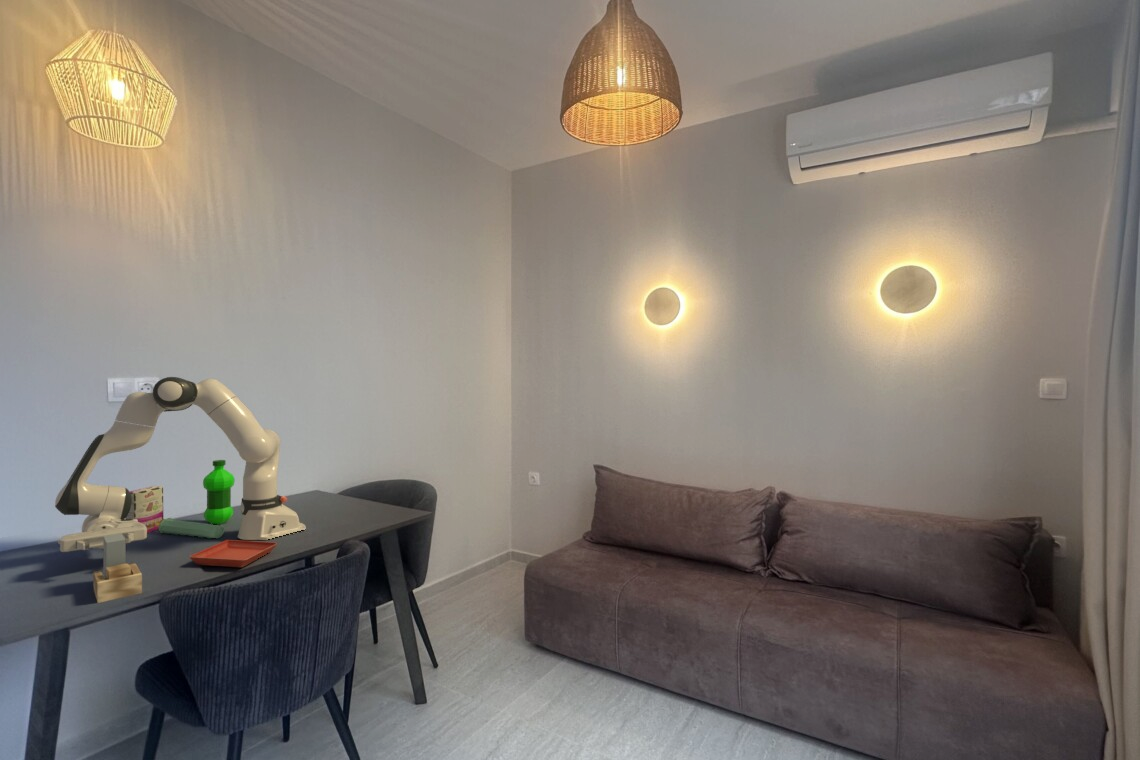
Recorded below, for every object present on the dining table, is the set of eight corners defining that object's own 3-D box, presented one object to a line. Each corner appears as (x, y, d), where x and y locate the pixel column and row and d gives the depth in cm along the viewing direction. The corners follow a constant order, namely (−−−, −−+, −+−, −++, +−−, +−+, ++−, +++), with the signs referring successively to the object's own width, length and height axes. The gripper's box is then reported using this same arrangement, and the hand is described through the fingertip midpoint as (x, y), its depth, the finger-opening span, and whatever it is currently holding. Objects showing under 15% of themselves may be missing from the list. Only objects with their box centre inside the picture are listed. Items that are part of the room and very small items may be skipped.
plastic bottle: (214, 518, 219) (215, 458, 218) (239, 519, 218) (240, 459, 218) (196, 525, 209) (197, 462, 208) (222, 526, 208) (223, 463, 208)
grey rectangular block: (121, 581, 154) (121, 533, 154) (125, 589, 149) (125, 539, 148) (103, 585, 151) (103, 536, 151) (106, 593, 146) (106, 542, 146)
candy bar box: (153, 527, 206) (153, 485, 205) (164, 528, 205) (164, 486, 204) (123, 536, 195) (124, 491, 194) (135, 537, 194) (135, 492, 193)
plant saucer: (278, 551, 181) (278, 541, 181) (244, 570, 163) (244, 559, 163) (226, 549, 182) (226, 539, 182) (187, 567, 164) (187, 556, 164)
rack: (135, 584, 152) (135, 563, 152) (141, 596, 144) (141, 574, 144) (93, 593, 146) (93, 571, 146) (97, 606, 138) (97, 583, 138)
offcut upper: (127, 574, 147) (127, 563, 147) (130, 577, 144) (130, 566, 144) (105, 578, 143) (105, 567, 143) (109, 582, 141) (109, 571, 141)
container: (224, 520, 196) (170, 514, 202) (211, 531, 190) (155, 524, 196) (229, 533, 198) (175, 527, 204) (216, 544, 193) (161, 537, 199)
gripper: (57, 529, 161) (59, 540, 152) (143, 517, 176) (150, 526, 166) (57, 550, 161) (59, 562, 152) (142, 536, 176) (149, 546, 166)
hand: (107, 543), depth 159 cm, fingers open, 8 cm apart
